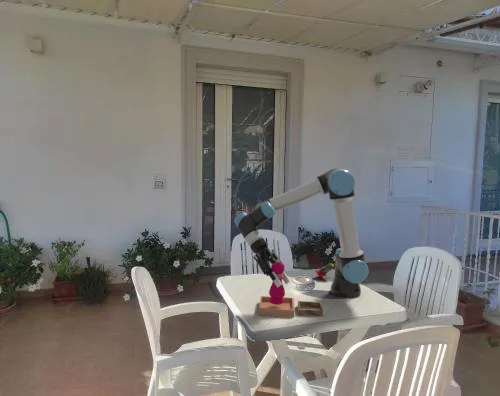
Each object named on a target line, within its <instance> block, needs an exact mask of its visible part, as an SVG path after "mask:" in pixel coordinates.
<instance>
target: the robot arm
mask: <svg viewBox="0 0 500 396" xmlns="http://www.w3.org/2000/svg"><path fill="white" fill-rule="evenodd" d="M355 186H356V180H355V177H354V175H353V174H352V173H351V172H350V171H349V170H347V169H345V168H332V169H330V170H327V171H326V172H324V173H323V174H321V175H319V176H317V177H315V178H314V180H312V181H309V182H307V183H304V184H302V185H300V186H297V187H295V188H293V189H289V190H288V191H285V192H283V193H281V194H278V195H275V196H274V197H271V198H269V199H266V200H264V201H260V202H258V203H257V204H256V205H255V207H254V210H252V211H251V212H249V213H247V212H241V213H239V214H238V215H236V216H235V217H234V220H233V222H234V224H235V226H236V228H237V230H238V232H240V234H241V235H242V237H243V239H244V241H245V242H246V243H247V245H248V246H249V247H250V249H251V251H252V252H253V253H254V255H253V257H252V258H253V259H254V260H255V261H256V263H257V266H259V268H260V270H261V272H262V274H264V275H265V276H266V277H269V278H270V279H271V280H272V282H274V283H275V285H276V286H277V288H278V287H279V286H280V285H282V284H283V283H284V284H285V285H287V284H288V283H289V282H291V279H290V278H289V276H288V275H287V272H286V271H285V270H284V272H283V277H282V283H281V282H280V280H279V278H278V277H277V275H276V274H275V272H272V269H271V265H272V264H273V263H275V262H276V260H277V259H279V260H280V263H282V264H283V265H284V266H285V264H284V263H283V261H282V260H281V259H280V257H279V256H278V254H277V253H276V250H275V249H274V248H273V249H269V247H268V243H267V241H266V240H265V238H264V237H263V235H262V234H261V232H260V231H259V229H257V228H259V226H261V225H262V224H264V223H265V222H267V221H268V220H269V219H271V218H273V216H275V215H276V213H278V212H280V211H282V210H285V209H287V208H289V207H292V206H294V205H297V204H299V203H301V202H304V201H307V200H309V199H311V198H314V197H317V196H318V195H323V196H325V195H327V194H328V196H329V200H330V201H331V202H333V207H334V212H335V220H336V227H337V231H338V232H337V233H338V239H339V245H340V248H337V249H336V250H335V254H334V256H335V258H334V259H335V261H334V263H335V264H334V278H333V281H332V282H331V285H330V292H331V294H333V295H334V296H339V297H343V298H357V297H359V296H361V292H362V289H361V285H360V284H361V283H363V282H364V281H365V280H366V279H367V277H368V275H369V273H370V272H369V266H368V264H367V263H366V260H365V254H364V251H363V250H362V249H360V242H359V235H358V228H357V224H356V217H355V210H354V204H353V199H354V198H355V196H356V194H355ZM270 263H271V265H270Z"/></svg>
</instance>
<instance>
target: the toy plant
mask: <svg viewBox="0 0 500 396" xmlns="http://www.w3.org/2000/svg"><path fill="white" fill-rule="evenodd" d="M317 268H319V266H318V267H317ZM317 268H316V270H315V273H316V275H317V276H318V277H320V279H321V280H323V279H324V278H323V277H325V278H328V279H330V276H329V277H328V276H327V274H328V273H329V272H330V271H332V270H333V269H334V268H335V264H334V263H331V262H330V263H328V264H326V265H325V266H322V267H321V268H319V269H317Z"/></svg>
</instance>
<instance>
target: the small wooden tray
mask: <svg viewBox="0 0 500 396" xmlns="http://www.w3.org/2000/svg"><path fill="white" fill-rule="evenodd" d="M307 308H310V309H307ZM311 308H315V309H311ZM297 311H298V314H297V315H298V316H307V317H308V316H310V317H311V316H312V317H324V308H323V305H322V301H308V300H297Z"/></svg>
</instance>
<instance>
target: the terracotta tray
mask: <svg viewBox="0 0 500 396" xmlns="http://www.w3.org/2000/svg"><path fill="white" fill-rule="evenodd" d="M270 298H271V296H270V295H269V296H268V295H266V296H265V295H260V299H259V303H258V312H257V315H258V316H268V317H269V316H270V317H284V318H285V317H286V318H287V317H288V318H295V297H287V296H286V297H285V296H284V297H283V298H284V303H283V304H280V305H275V304H272V303H270Z"/></svg>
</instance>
